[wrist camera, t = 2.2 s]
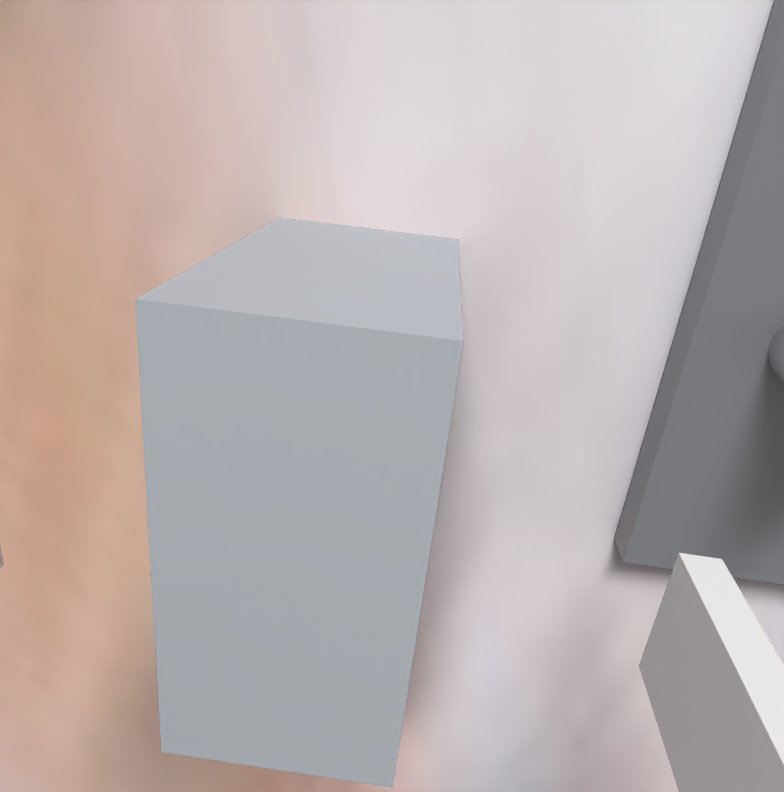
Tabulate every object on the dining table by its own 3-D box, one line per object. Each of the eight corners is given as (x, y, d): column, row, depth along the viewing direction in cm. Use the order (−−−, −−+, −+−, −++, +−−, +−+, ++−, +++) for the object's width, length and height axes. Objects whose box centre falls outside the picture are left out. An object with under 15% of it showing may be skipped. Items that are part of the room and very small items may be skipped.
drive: (268, 515, 22) (158, 751, 14) (278, 217, 18) (131, 298, 10) (416, 535, 22) (394, 788, 14) (459, 239, 18) (466, 341, 10)
